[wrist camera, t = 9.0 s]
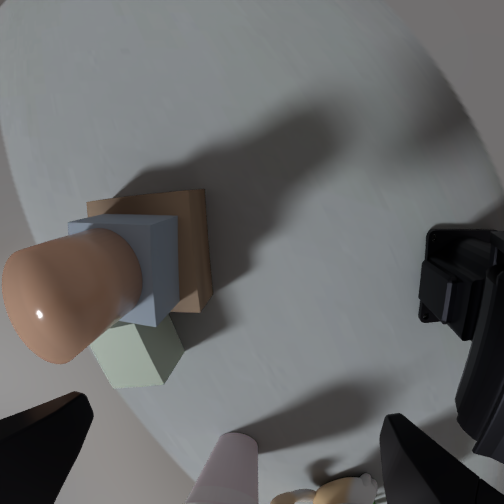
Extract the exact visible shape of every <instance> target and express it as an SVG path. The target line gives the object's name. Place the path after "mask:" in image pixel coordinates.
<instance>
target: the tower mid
mask: <svg viewBox="0 0 504 504" xmlns="http://www.w3.org/2000/svg"><path fill="white" fill-rule="evenodd" d="M93 228H105V229H108V230H111V231H113V232H115V233H117V234H118V235H120V236H121V237H122V238H123V239H125V240H126V242H127V243H128V244H129V245H130V246H131V248H132V249H133V251H134V253H135V254H136V256H137V259H138V261H139V264H140V267H141V272H142V280H143V281H142V292H141V296H140V298H139V301H138V303H137V304H136V306H135V307H134V308H133V309H132V310H131V311H130V312H129V313H127V314H126V315H125V316H124V317H122V318H121V319H120V320H119V321H123V322H129V323H134V324H140V325H146V326H152V327H157V326H158V325H159V324H160V322H161V321H162V320H163V319H164V318H165V317H166V316H167V315H168V314H169V312H170V311H171V310H172V309H173V308H174V307H175V306H176V305H177V304H178V303H179V301H180V297H179V270H178V216H172V215H134V214H101V215H97V216H92V217H88V218H84V219H80V220H76V221H72V222H68V235H71V234H75V233H78V232H82V231H86V230H89V229H93Z"/></svg>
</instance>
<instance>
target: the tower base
mask: <svg viewBox="0 0 504 504" xmlns="http://www.w3.org/2000/svg"><path fill="white" fill-rule="evenodd" d="M87 213H88V217H92V216H97V215H101V214H134V215H172V216H178V270H179V297H180V301H179V303H178V304H177V305H176V306H175V307H174V308H173V309H172V310H171V311H170V312H192V313H200V312H201V311H202V309H203V308H204V307H205V305H206V304H207V302H208V301H209V299H210V298H211V296H212V295H213V287H212V276H211V265H210V254H209V242H208V229H207V216H206V202H205V189H196V190H184V191H173V192H163V193H153V194H144V195H135V196H126V197H118V198H110V199H103V200H97V201H90V202H87Z"/></svg>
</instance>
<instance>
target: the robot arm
mask: <svg viewBox="0 0 504 504" xmlns="http://www.w3.org/2000/svg"><path fill="white" fill-rule="evenodd" d="M434 234H435V235H436V238H435V240H432V236H433V235H434ZM419 299H420V307H419V314H418V317H419V319H420V320H421V322H423V323H430V322H439V321H441V322H442V323H443V324H447V325H448V326H449V327H450V328H451V329H452V330H453V331H454V332H455V333H456V334H457V335H458V336H459V337H460V339H461V340H462V341H467V340H471V342H472V343H471V347H470V351H469V354H468V358H467V361H466V365H465V368H464V371H463V374H462V377H461V380H460V383H459V386H458V389H457V393H456V397H455V402H456V407H457V412H458V416H457V421H458V423H459V424H460V426H461V427H462V429H463V430H464V431H465V432H466V433H467V434H468V435H470V436H471V437H472V438H473V439H474V440H476V441H477V442H476V444H475V446H474V447H473V449H472V451H473V453H475V454H478V455H482V456H487V457H491V458H493V459H495V460H497V461H499V462H501V463H503V464H504V231H496V230H489V229H432V230H430V231H428V233H427V236H426V249H425V260H424V261H423V263H422V269H421V279H420V288H419ZM426 313H428V314H427V316H426V317H423V316H424V315H425V314H426ZM93 417H94V415H93V410H92V408H91V406H90V403H89V401H88V398H87V396H86V395H85V394H83V393H80V392H75V391H74V392H71V393H69V394H66V395H64V396H61V397H59V398H56V399H54V400H51V401H49V402H46V403H43V404H41V405H38V406H36V407H33V408H31V409H28V410H25V411H23V412H20V413H17V414H15V415H12V416H9V417H7V418H3V419H1V420H0V504H54V502H55V500H56V498H57V496H58V494H59V492H60V490H61V488H62V486H63V484H64V482H65V480H66V478H67V476H68V474H69V472H70V470H71V468H72V466H73V464H74V462H75V461H76V459H77V457H78V454H79V452H80V450H81V448H82V445H83V443H84V440H85V437H86V435H87V433H88V430H89V428H90V425H91V423H92V420H93ZM380 450H381V460H382V471H383V482H384V489H385V494H386V499H387V504H504V495H503V494H502V493H500V492H499V491H497V490H496V489H495V488H493V487H492V486H490V485H489V484H488V483H487V482H485V481H484V480H483V479H480V478H479V476H477V475H476V474H475V473H474V472H472V471H471V470H470V469H469V468H467V467H466V466H465V465H464V464H462V463H461V462H460V461H459V460H457V459H456V458H455V457H454V456H452V455H451V454H450V453H449V452H447V451H446V450H445V449H444V448H442V447H441V446H440V445H439V444H437V443H436V442H435V441H434V440H433V439H431V438H430V437H429V436H428V435H426V434H425V433H424V432H423V431H422V430H420V429H419V428H418V427H417V426H416V425H414V424H413V423H412V422H411V421H409V420H408V419H407V418H406V417H405V416H403V415H402V414H400V413H396V414H388V415H387V416H386V417H385V419H384V422H383V426H382V429H381V433H380Z"/></svg>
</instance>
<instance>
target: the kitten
mask: <svg viewBox="0 0 504 504" xmlns="http://www.w3.org/2000/svg"><path fill="white" fill-rule="evenodd" d="M376 495H377V482H376V480H375V479H371V476H370V474H368V473H364V474H363V475H361V476H360V478H358V477H346V478H341V479H337V480H334V481H332V482H329V483H327V484H324V485H323V486H321V487H320V488H319V489H318V490H317V491H314V490H311V489H298V490H295V491H291V492H286V493H283V494H280V495H278V496H276V497H275V498H274V499H273V500H272V501H271V503H270V504H294V503H295V502H311V501H313V504H375V502H374V500H375V496H376Z"/></svg>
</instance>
